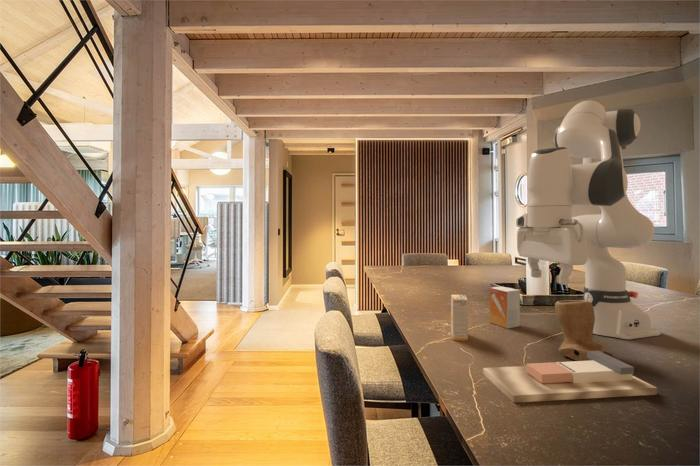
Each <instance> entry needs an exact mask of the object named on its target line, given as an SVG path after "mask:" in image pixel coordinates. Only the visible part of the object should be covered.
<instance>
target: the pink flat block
mask: <svg viewBox="0 0 700 466" xmlns="http://www.w3.org/2000/svg"><path fill="white" fill-rule="evenodd" d="M525 366H526V372H527V373H528V374H530V375H531V376H532V377H534V378H535V379H536V380H538V381H539V382H541V383H558V382H572V373H571V372H570V371H568V370H566V369H565V368H563V367H561V366H560V365H558V364H557V363H556V362H535V363H534V362H533V363H532V362H531V363H526V365H525Z"/></svg>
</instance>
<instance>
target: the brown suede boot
mask: <svg viewBox="0 0 700 466" xmlns="http://www.w3.org/2000/svg"><path fill="white" fill-rule="evenodd" d="M554 308H555V317H556V319H557V322H558V324H559V326H560V330H561V331H562V335H563V342H561V345H560V346H559V348H558V352H559V353H561V354H562V355H564V356H565V357H567V358H569V359H571V360H573V361H591V360H592V359H590V358H588V357H587V351H600V352H603V353H605V352H604V351H605V346H604V345H603V344H601V343H598V342H594V340H593V337H594V336H593V334H594V333H593V328H594V323H595V315H594V308H593V305H592V303H591V302H589V301H587V300H584V299H579V300H574V299H573V300H572V299H565V300H557V301H556V302H555V303H554Z"/></svg>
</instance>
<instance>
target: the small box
mask: <svg viewBox="0 0 700 466" xmlns="http://www.w3.org/2000/svg"><path fill="white" fill-rule="evenodd" d="M489 291H490V292H489V323H490V324H494V325H496V326H499V327H502V328H504V329H512V328H518V327H520V324H521V323H520V322H521V317H520V316H521V314H520V313H521V309H520V307H521V290H520V289H518V288H517V289H515V288H513V287H508V286H507V287H506V286H502V285H501V286H494V287H493V286H492V287H489Z"/></svg>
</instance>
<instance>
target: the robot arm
mask: <svg viewBox="0 0 700 466" xmlns="http://www.w3.org/2000/svg"><path fill="white" fill-rule="evenodd" d="M640 130H641V120H640V118H639V116H638V114H637V112H636V110H634V109H632V108H620V109H617V110H611V111H606V109H605V107H604V106H603V104H602V103H600V102H598V101H596V100H584V101H581V102H579V103H576V104H575V105H574V106H573V107H572V108H570V110H569V111H568V112H567V114H566V115H565V116H564V118H563V119H562V122H561V123H560V124H558V126H557V127H556V128H555V130H554V133H553V134H554V135H553V142H554V146H555V147H550V148H549V147H548V148H543V149H537V150H535V151H533V152H532V153H531V154H530V158H529V162H528V163H529V164H528V168H527V169H528V170H527V171H528V172H527V192H528V195H529V198H528V202H527V208H526V209H527V210H526V212H524V213H523V214H522V215H520V216H519V217H517V218H516V220H515V226H516V228H517V232H516V250H517V253H518V256H519V257H522V258H527V263H528V266H529V269H530V276H531V277H532V278H535V279H538V278H542V276H543V275H542V272H543V271H542V270H541V269H540V266H539V263H540V261H545V262H550V263H557V264H559V265H558V266H559V269H560V270H559V271H560V272H559V274H557V275H555V276H556V279H555V280H556V284H559V285H562V286H563V285H564V286H566V285H569V279H570V278H569V277H570V276H571V273H572V272H573V270H574V266H584V278H585V279H584V281H585V284H584V287H583V300H587V301H589V302H591V303H592V305H593V308H594V315H595V323H594V328H593V334H594V335H599V336H603V337H612V338H618V339H621V340H634V339H640V338H641V339H643V338H649V337H657V336H661V331H660V330H658V329H657V328H654V327H652V322H651V317H650V316H649V314H648V313H647V312H646V311H644V310H643V309H641V307H639V306H637V305H636V304H635V303H634V302H633V301H632V300H631V299H632V298H633V299H637V298H638V297H639V293H638V292H637V291H633V290H630V291H628V290H627V287H626V285H627V280H626V279H627V269H626V267H625V265H624V264H623V263H622V262H621V261H620V260H618V259H617V258H614V257H613V256H612V254H610V252H609V250H608V248H618V249H633V248H635V249H636V248H642V247H646V246H647V245H649V244H650V243H651V241H652V240H653V238H654V236H655V231H656V230H655V225H654V224H653V223H654V222H652V220H651V219H650V218H649V217H648V216H646V215H645V214H642V213H641V212H640V211H639V210H637V208H635V207H634V205H633V204H632V203H631V200H630V199H629V197H628V195H627V190H628V186H629V184H628V182H629V181H628V175H627V172H626V170H625V167H624V160H623V153H622V150H625V149H626V148H627V146H629V145H630V144H632V143H633V142H634V141H635V140H636V139H637V138H638V135H639V133H640ZM621 149H622V150H621ZM571 158H575V159H582V163H579V164H572V159H571ZM573 206H598V207H599V208H600V210H601V213H602V214H601V213H600V214H599V213H597V214H595V213H594V214H581V215H576V216H573Z"/></svg>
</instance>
